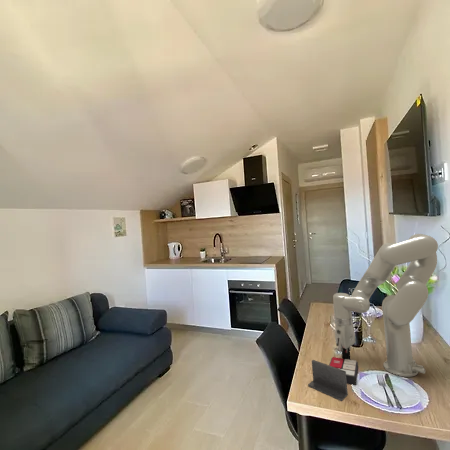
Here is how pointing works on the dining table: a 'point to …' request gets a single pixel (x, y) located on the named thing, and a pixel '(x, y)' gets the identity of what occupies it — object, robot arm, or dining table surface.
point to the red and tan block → (346, 368)
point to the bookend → (329, 380)
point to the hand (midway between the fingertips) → (346, 359)
